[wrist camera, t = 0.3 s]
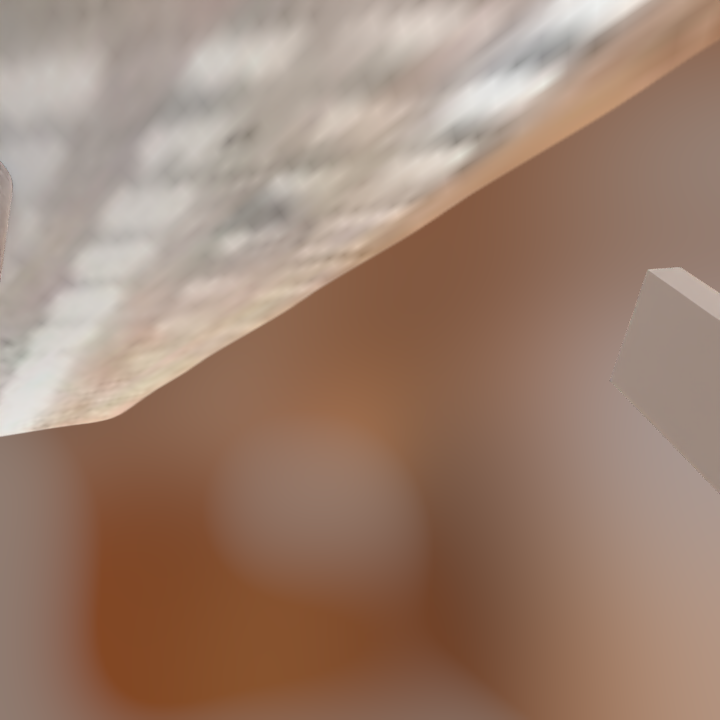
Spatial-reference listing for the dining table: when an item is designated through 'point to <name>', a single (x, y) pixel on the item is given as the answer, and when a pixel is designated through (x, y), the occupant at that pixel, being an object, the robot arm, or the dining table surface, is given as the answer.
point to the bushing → (4, 208)
